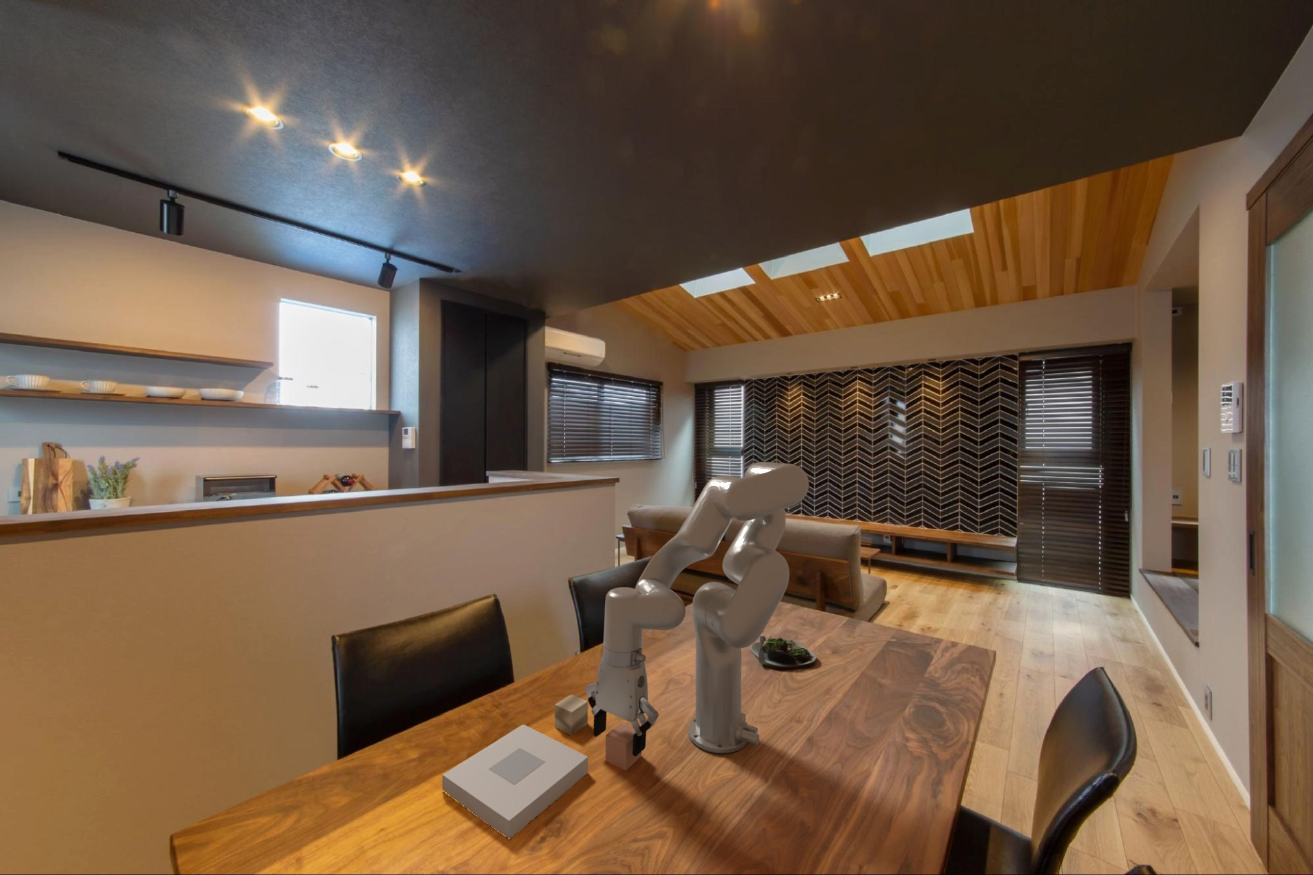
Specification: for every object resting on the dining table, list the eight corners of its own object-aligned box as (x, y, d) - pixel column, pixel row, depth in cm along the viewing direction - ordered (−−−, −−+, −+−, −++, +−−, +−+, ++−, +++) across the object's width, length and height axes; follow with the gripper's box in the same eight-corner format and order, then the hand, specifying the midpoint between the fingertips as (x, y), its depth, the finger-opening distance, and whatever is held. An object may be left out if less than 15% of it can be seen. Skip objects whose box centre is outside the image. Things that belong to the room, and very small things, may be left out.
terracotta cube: (641, 756, 93) (641, 730, 93) (625, 771, 89) (626, 744, 89) (621, 747, 96) (621, 722, 96) (605, 760, 92) (605, 735, 92)
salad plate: (737, 644, 145) (737, 629, 145) (790, 639, 149) (790, 624, 149) (764, 674, 126) (764, 657, 126) (824, 667, 130) (824, 651, 130)
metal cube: (587, 724, 104) (587, 701, 104) (571, 735, 99) (571, 711, 99) (571, 716, 106) (571, 694, 106) (554, 727, 102) (554, 704, 102)
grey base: (587, 772, 88) (587, 756, 88) (509, 839, 73) (509, 820, 73) (523, 738, 98) (523, 723, 98) (442, 791, 83) (442, 774, 83)
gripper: (669, 659, 91) (666, 750, 90) (601, 636, 100) (597, 718, 100) (647, 674, 84) (643, 771, 84) (576, 648, 94) (572, 735, 94)
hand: (618, 742), depth 92 cm, fingers open, 9 cm apart
